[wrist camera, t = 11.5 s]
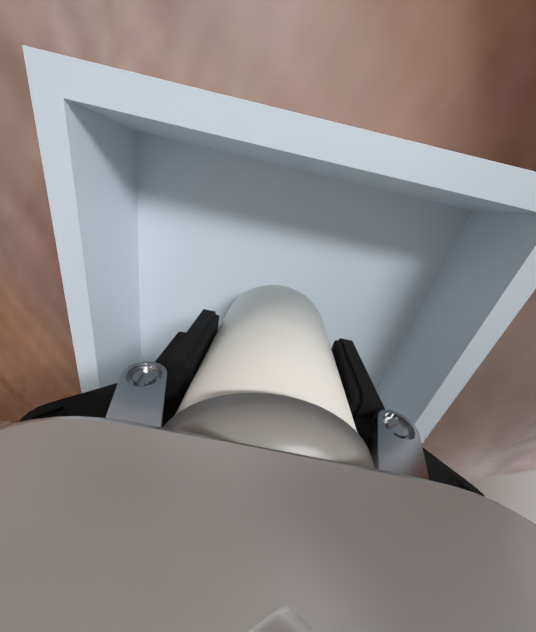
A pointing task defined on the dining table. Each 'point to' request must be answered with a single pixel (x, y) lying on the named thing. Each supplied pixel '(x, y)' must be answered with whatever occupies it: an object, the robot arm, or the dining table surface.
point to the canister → (273, 382)
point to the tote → (274, 228)
